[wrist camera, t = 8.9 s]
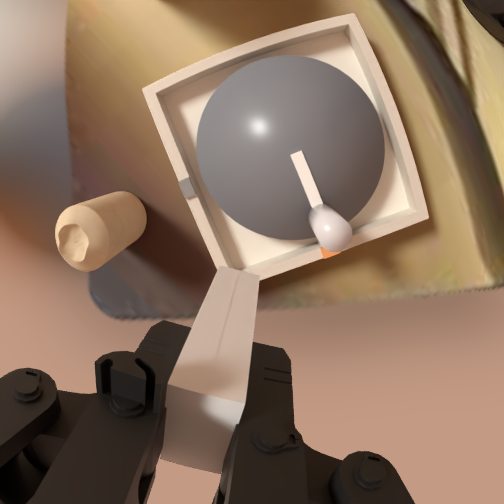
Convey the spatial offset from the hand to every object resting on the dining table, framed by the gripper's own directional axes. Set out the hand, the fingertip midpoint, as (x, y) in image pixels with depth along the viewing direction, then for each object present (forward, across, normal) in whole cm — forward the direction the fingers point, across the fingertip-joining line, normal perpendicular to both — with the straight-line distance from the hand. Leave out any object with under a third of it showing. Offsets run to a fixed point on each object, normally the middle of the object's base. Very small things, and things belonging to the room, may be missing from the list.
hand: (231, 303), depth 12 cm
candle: (+20, -13, -4) cm, 24 cm away
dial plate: (+20, +2, +6) cm, 21 cm away
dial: (+18, +2, +7) cm, 19 cm away
